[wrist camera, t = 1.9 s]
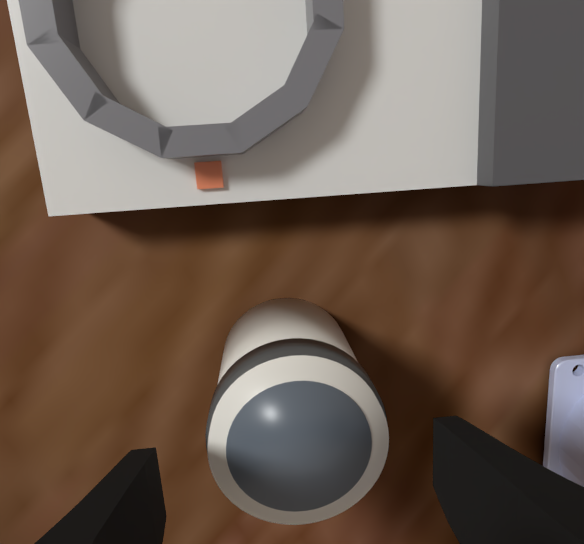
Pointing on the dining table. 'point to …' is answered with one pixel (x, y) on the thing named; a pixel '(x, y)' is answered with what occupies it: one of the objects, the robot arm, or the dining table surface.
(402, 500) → the dining table surface
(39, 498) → the dining table surface
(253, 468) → the lens
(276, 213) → the dining table surface
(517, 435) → the dining table surface
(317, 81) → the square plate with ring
